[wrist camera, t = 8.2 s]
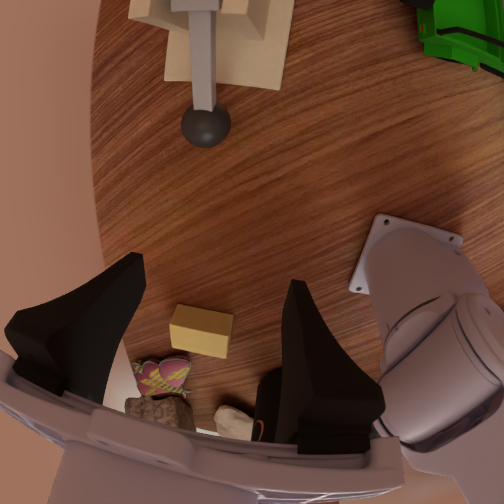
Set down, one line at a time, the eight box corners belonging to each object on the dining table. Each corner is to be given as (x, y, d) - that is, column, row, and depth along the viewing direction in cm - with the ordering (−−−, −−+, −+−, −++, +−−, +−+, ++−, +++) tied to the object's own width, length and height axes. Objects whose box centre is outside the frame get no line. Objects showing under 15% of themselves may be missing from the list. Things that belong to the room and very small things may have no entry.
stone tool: (240, 448, 55) (238, 467, 51) (190, 391, 42) (183, 417, 37) (297, 446, 53) (296, 466, 49) (271, 388, 39) (269, 418, 35)
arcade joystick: (235, 131, 18) (224, 161, 17) (191, 126, 18) (177, 155, 17) (244, -45, 8) (229, -44, 6) (182, -43, 8) (156, -39, 6)
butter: (233, 314, 30) (228, 336, 27) (230, 338, 32) (226, 359, 29) (177, 303, 30) (169, 323, 27) (179, 327, 32) (171, 347, 30)
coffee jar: (252, 362, 34) (231, 503, 19) (340, 359, 32) (345, 504, 17) (263, 400, 40) (249, 511, 25) (334, 398, 38) (334, 511, 23)
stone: (121, 374, 45) (201, 383, 45) (142, 428, 51) (210, 436, 51) (95, 427, 33) (189, 444, 33) (127, 475, 39) (203, 488, 39)
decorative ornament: (151, 345, 31) (220, 383, 34) (157, 332, 33) (223, 369, 36) (115, 382, 40) (167, 410, 42) (120, 372, 41) (170, 400, 44)
